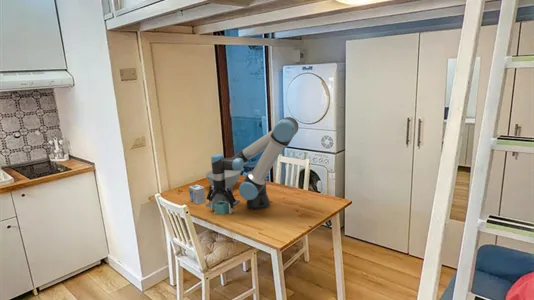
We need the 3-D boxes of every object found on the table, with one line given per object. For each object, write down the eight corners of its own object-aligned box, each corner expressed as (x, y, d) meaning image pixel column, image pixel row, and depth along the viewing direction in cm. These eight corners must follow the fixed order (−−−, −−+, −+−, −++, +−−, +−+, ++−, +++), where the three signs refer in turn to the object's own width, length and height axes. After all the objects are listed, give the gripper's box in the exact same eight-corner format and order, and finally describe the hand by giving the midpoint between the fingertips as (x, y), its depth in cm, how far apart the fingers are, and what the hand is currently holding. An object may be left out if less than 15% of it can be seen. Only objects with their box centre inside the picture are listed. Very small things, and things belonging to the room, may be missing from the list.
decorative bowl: (203, 186, 264) (201, 171, 261) (235, 180, 274) (233, 166, 272) (212, 196, 240) (211, 180, 237) (247, 189, 250) (245, 173, 248)
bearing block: (240, 201, 225) (238, 186, 223) (229, 209, 213) (227, 193, 211) (217, 199, 233) (216, 183, 231) (206, 206, 221) (204, 190, 218)
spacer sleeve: (229, 210, 211) (228, 201, 210) (223, 214, 205) (223, 205, 204) (220, 209, 214) (219, 200, 212) (215, 213, 208) (214, 204, 207)
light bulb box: (190, 201, 233) (188, 186, 230) (198, 198, 237) (197, 184, 234) (197, 204, 225) (195, 189, 222) (206, 202, 229) (204, 187, 226)
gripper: (198, 179, 207) (202, 211, 211) (233, 182, 196) (235, 216, 201) (206, 175, 213) (208, 206, 218) (239, 179, 203) (242, 211, 207)
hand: (221, 211), depth 209 cm, fingers open, 13 cm apart
